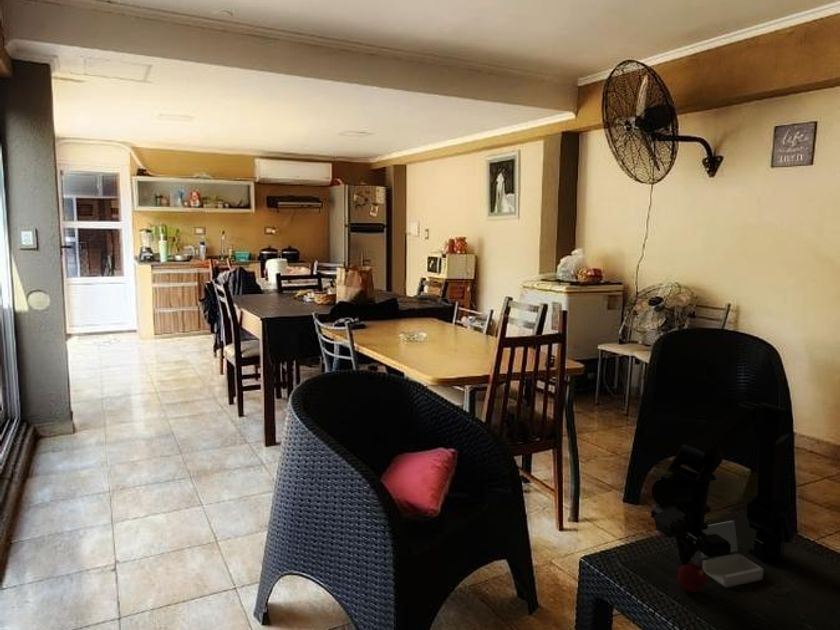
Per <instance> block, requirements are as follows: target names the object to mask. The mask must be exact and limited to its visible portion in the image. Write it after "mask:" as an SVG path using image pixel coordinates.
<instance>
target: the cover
mask: <svg viewBox="0 0 840 630" xmlns="http://www.w3.org/2000/svg"><path fill="white" fill-rule="evenodd" d="M703 531H705V532H706V533H708V534H717V535H719V536H721V537H722V538H724V539H725V540H727V541H728V542H729V543H730V544H731V550H730V552H731V553H733V552H738V551H739V550H738V539H737V538H738V537H737V533H736V532H737V531H736V522H735V520H728V521H723V522H717V523H712V524H708V529H703ZM701 557H703V558H704V559H705V558H709V557H708V556H706V555H704V554H703V553H702V552H701Z"/></svg>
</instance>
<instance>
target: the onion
mask: <svg viewBox="0 0 840 630" xmlns="http://www.w3.org/2000/svg"><path fill="white" fill-rule="evenodd" d="M677 580H678V583H679V584H680V586H681V587H682V588H684V590H686V591H687V592H688V591H689V592H690V593H691V592H692V593H696V592H700V591H702V590H703V589H704V588H705V587H706V585H707V580H708V579H707V574H706V573H705V571H704V570H703V569H702V566H698V565H696V564H694V563H693V562H692V563H690V562H689V563H687V564H685V565H683V564H682V566H680V567H679V570H678V572H677Z"/></svg>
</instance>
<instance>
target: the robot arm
mask: <svg viewBox="0 0 840 630" xmlns="http://www.w3.org/2000/svg"><path fill="white" fill-rule="evenodd" d="M793 423H794V417H793V414H792V412H790V410H788V409H786V408H782V407H779V406H775V405H771V404H768V403H766V402H759V403H758V404H756V403H754V402H750V401H745V400H744V401H739V402H738V403H737V405H736V407H735V409H734V410H733V411H731V412H730V413H729V414H728V415H727V416H725V418H724V419H722V420H721V421H720V422H719V423H718V424H717V425H715V426H714V427H713V428H712V429H711V430H709V432H707V433H706V434H703V435H700V436H694V437H693V438H690V439H689V440H687V441H686V442H684V443H683V444H682V446H681V447H680V449H679V450H678V452H677V453H676V454H675V456H674V458H673V460H672V461H671V463H670V464H669V466H668V468H667V470H668V471H669V472H671V473H665V474H663V473H662V474H660V475H661V476H660V479H658V480H656V481H655V482H654V483H653V485H652V486H651V493H652V495H651V496H652V497H653V500H654V502H655V503H656V504H658V505H655V506H654V507H653V508H652V509H651V511H650V512H651V513H650V518H652V519H653V520H654V524H655V529H656V531H658V532H660V533H661V534H663V535H664V537H666V538H668V539H669V538H674V540H675V543H676V544H677V545H676V546H677V551H678V554H679V559H680V563H681V564H682V566H683V565H685V564H689V563H690V561H691V560H692V558H694V555H695V553H696V552H697V551H698V550H699V551H700V552H702V553H703V554H704V555H706V556H708V557H707V558H717V557H721V556H723V555H730V550H731V544H730V543H729V542H728V541H727V540H725V539H724V538H722V537H721V536H719V535H717V534H708V533H706V532H705V531H703V529H708V525H709V524H708V523H706V522H705V519H706V518H705V517H706V513H709V512H711V508H712V507H711V506H709V505H708V499H709V490H710V484H711V483H710V482H712V481H716V480H717V477H716V475H714V472H715V471H716V470H717V469H718V468H719V466H720V465H721V464H722V463H723V457H724V453H725V452H726V451H727V450H728V449H729V448H730V447H731V446H732V445H733V444H734V443H735V442H736V441H737V440H739V439H740V438H741V437H742V436H743V435H744V434H745V433H746V432H747V431H748V430H750V429H752V431H753V433H754V434H755V436H756V438H757V440H758V448H757V449H758V456H757V479H756V480H757V482H756V495H755V497H754V498H753V499H751V501H749V502H747V504H746V507H747V511H746V516H745V517H747V520H748V526H749V528H750V529H753V530H755V531H756V532H755V538H754V541H753V548H749V549H748V552H749V553H750V554H751V555H752V556H754V557H756V558H758V559H760V560H761V561H763V562H764V563H766V564H768V565H775V564H780V563H784V562H785V563H786V562H789V560H790V558H788V556H785V555H784V552H785V544H787V543H788V544H790V543H791V542H792V540H794V537H795V534H796V529H795V528H794V527H793V526H792V524H791V523H790V521H789V513H788V508H787V506H786V505H785V503H784V501H783V500H782V498H781V490H782V489H781V486H782V465H783V464H782V463H783V444H784V441H785V440H786V439H787V438H788V437H789V436H790V434H791V433H792V427H793ZM689 469H690V470H689ZM691 470H693V471H691Z"/></svg>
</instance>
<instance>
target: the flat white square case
mask: <svg viewBox="0 0 840 630" xmlns="http://www.w3.org/2000/svg"><path fill="white" fill-rule="evenodd" d="M731 553H732V552H730V555H723V556H717V557H712V558H709V559H705V558H703V557H701V552H700V551H699V550H698V551H697V552H696V553H695V555H694V556H693V562H692V564H696V565H698V566H699V567H701V568H702V569H703V570H704V571H705V574H706V576H709V577H710V578H711V579H713V580H714V581H715V582H717V583H718V584H720V585H722V586H723V587H724V588H731V587H735V586H739V585H740V586H741V585H745V584H748V583H754V582H757V581H762V580H764V579H763V578H764V570H765V569H764V568H763V567H761V566H760V565H758V564H756V563H755V562H753V561H752V560H750V559H749V558H747V557H745V556H744V555H742V554H740V553H739V552H738V553H734V554H731Z"/></svg>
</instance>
